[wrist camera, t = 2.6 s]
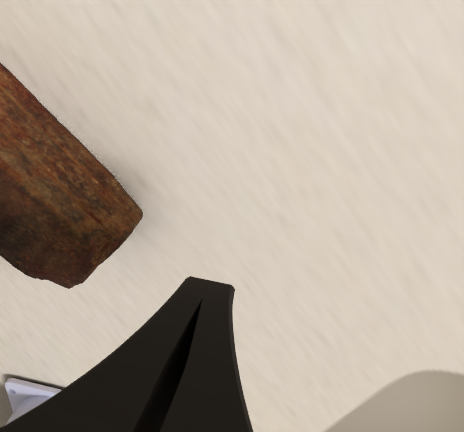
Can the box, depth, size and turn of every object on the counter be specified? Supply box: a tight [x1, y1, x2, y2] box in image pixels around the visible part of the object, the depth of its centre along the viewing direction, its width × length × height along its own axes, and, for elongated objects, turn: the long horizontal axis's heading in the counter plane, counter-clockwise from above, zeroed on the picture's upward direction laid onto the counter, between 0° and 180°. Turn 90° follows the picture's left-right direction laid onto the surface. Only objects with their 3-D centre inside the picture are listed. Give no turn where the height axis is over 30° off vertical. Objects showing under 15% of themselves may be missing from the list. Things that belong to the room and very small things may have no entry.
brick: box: [0, 63, 143, 289], centre depth 16 cm, size 11×4×5 cm, turn 42°
